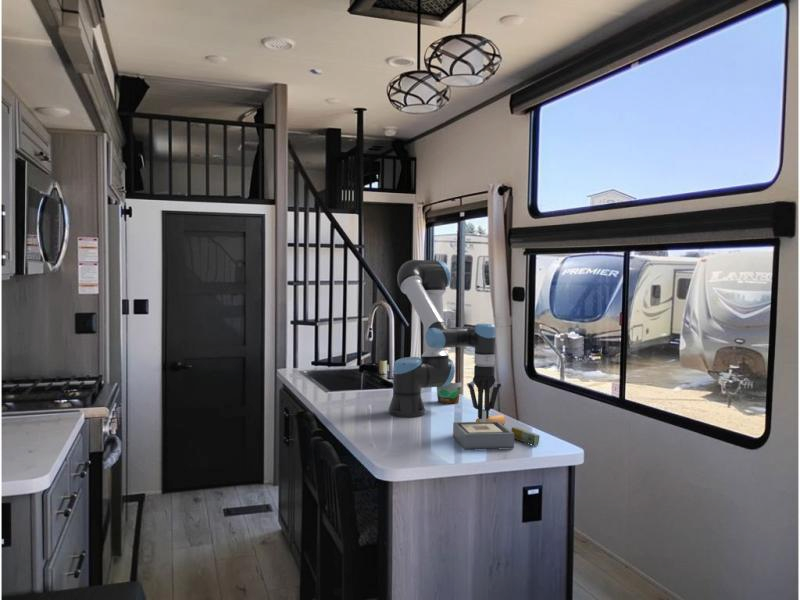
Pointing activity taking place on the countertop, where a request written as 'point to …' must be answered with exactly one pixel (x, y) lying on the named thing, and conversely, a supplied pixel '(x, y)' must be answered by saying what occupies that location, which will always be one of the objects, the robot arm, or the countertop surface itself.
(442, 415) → the countertop surface
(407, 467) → the countertop surface
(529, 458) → the countertop surface
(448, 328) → the robot arm
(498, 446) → the box
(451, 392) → the food container
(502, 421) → the peg
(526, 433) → the medication box
